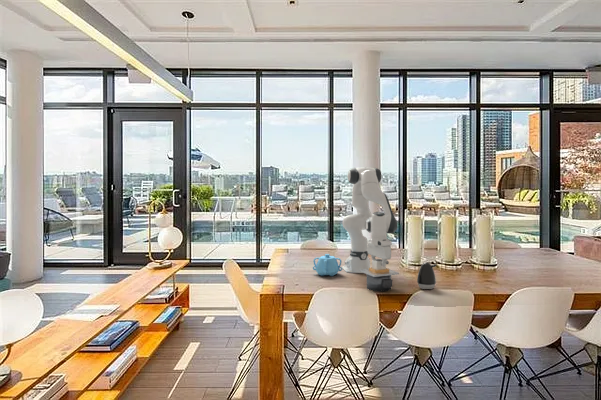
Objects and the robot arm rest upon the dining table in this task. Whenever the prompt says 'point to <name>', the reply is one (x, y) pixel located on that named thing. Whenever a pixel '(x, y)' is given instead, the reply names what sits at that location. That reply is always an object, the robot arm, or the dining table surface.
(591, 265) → the dining table surface
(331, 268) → the decorative pot
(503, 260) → the dining table surface
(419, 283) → the pump dispenser
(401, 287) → the dining table surface
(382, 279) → the motor
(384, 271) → the clip collar
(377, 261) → the pump housing
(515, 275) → the dining table surface
